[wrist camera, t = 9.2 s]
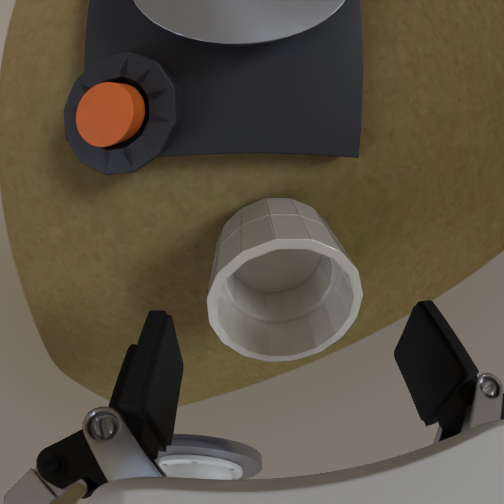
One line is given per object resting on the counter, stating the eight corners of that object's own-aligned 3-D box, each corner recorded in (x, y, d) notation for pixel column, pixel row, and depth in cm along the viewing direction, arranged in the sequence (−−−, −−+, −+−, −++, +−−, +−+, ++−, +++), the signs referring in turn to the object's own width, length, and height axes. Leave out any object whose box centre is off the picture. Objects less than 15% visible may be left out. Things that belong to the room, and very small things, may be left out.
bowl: (322, 295, 19) (345, 356, 14) (220, 297, 19) (214, 362, 14) (336, 196, 16) (376, 239, 11) (213, 195, 16) (200, 240, 11)
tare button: (147, 138, 11) (135, 142, 10) (94, 146, 11) (78, 151, 10) (145, 79, 10) (132, 76, 9) (90, 90, 10) (74, 89, 9)
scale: (349, 159, 15) (370, 171, 12) (96, 166, 14) (70, 180, 12) (341, -72, 7) (356, -94, 4) (107, -61, 7) (89, -78, 4)
